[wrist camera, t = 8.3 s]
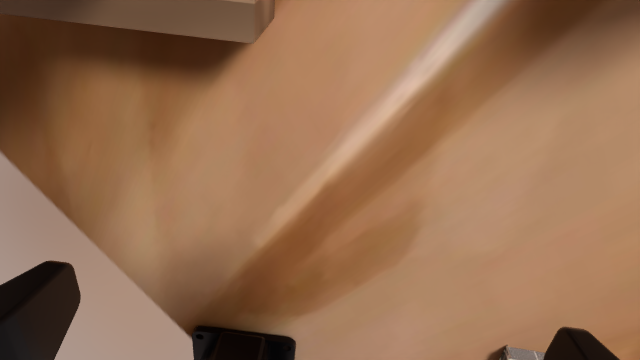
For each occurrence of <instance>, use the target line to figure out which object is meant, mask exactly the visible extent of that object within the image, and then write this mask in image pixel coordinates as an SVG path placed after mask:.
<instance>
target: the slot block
mask: <svg viewBox="0 0 640 360" xmlns="http://www.w3.org/2000/svg"><path fill="white" fill-rule="evenodd" d="M274 5H275V0H0V14H7V15H15V16H24V17H32V18H41V19H49V20H58V21H66V22H75V23H83V24H92V25H100V26H109V27H117V28H126V29H134V30H143V31H151V32H159V33H168V34H176V35H185V36H193V37H202V38H210V39H219V40H227V41H236V42H244V43H253V44H254V43H255V42H256V40H257V39H258V38H259V36H260V35H261V34H262V33H263V31H264V30H265V29H266V28H267V26H268V25H269V24H270V22H271V21H272V20H273V19H274Z"/></svg>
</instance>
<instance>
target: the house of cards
mask: <svg viewBox="0 0 640 360" xmlns="http://www.w3.org/2000/svg"><path fill="white" fill-rule="evenodd" d="M544 355H545V353H542V352H535V351H532V350H525V349H518V348H511V347H508V346H506V348H505V349H504V351H503V353H502V355H501V357H500V359H499V360H543V359H544Z"/></svg>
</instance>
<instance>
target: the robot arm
mask: <svg viewBox="0 0 640 360" xmlns="http://www.w3.org/2000/svg"><path fill="white" fill-rule="evenodd" d="M79 303H80V291H79V287H78V283H77V279H76V275H75V271H74V268H73V266H72V265H71V264H69V263H66V262H58V261H46V262H43V263H41V264H39V265H38V266H36V267H34V268H32V269H30V270H29V271H26V272H24V273H23V274H21V275H19V276H17V277H15V278H13V279H11V280H9V281H8V282H6V283H4V284H2V285H0V360H54V359H55V356H56V354H57V352H58V350H59V348H60V346H61V344H62V341H63V339H64V337H65V335H66V333H67V330H68V328H69V326H70V324H71V322H72V320H73V317H74V315H75V313H76V311H77V309H78V306H79ZM192 341H193V353H194V360H294V359H295V349H296V342H295V340H293V339H292V338H287V337H280V336H272V335H264V334H257V333H249V332H241V331H233V330H226V329H218V328H210V327H203V326H198V327H196V328H195V329H194V331H193V334H192ZM543 360H620V359H619V358H617V357H616V356H615V355H614V354H613V353H612V352H611V351H610V350H609V349H607V348H606V347H605V346H604V345H603V344H602V343H601V342H600V341H598V340H597V339H596V338H595V337H594V336H593V335H592V334H591V333H589V332H588V331H586V330H584V329H579V328H571V327H562V328H560V329H559V330H558V331H557V333H556V335H555V336H554V338H553V340H552V342H551V344H550V345H549V347H548V349H547V351H546V353H545V355H544V359H543Z"/></svg>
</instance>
